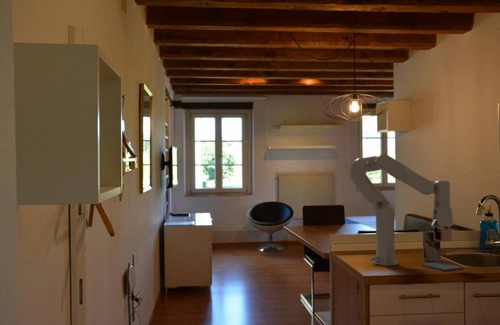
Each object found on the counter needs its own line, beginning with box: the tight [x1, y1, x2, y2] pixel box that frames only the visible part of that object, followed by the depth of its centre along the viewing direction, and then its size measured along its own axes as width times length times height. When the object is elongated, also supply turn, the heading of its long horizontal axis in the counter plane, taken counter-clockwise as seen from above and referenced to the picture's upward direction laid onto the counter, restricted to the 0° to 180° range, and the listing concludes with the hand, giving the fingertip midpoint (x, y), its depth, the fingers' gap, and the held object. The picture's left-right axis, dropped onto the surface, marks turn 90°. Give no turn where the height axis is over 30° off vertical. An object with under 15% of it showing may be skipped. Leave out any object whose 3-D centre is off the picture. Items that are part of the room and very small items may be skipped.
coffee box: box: [422, 230, 442, 263], centre depth 244 cm, size 9×6×16 cm
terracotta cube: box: [434, 227, 453, 243], centre depth 227 cm, size 6×6×6 cm
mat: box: [421, 261, 464, 272], centre depth 227 cm, size 14×14×1 cm
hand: (442, 238), depth 227 cm, fingers closed on terracotta cube, 6 cm apart
